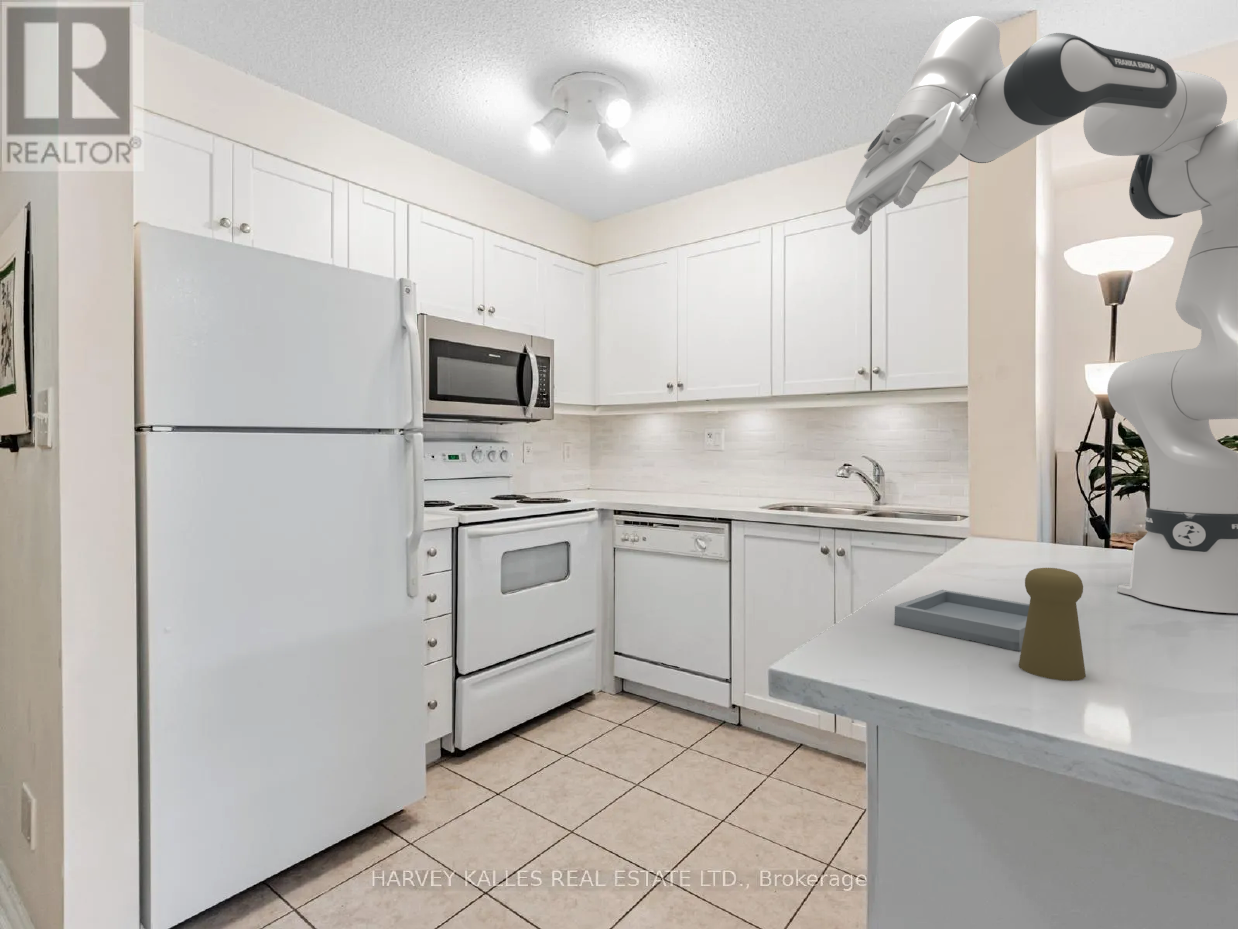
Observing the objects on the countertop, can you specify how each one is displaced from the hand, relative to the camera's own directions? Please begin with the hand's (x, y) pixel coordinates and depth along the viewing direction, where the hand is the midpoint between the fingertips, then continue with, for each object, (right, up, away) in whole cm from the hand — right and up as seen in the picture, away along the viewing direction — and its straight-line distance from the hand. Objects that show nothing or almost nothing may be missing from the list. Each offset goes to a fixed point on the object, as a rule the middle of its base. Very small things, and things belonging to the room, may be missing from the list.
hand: (878, 217), depth 85 cm
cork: (+13, -55, -15) cm, 58 cm away
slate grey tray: (+14, -54, +2) cm, 56 cm away
